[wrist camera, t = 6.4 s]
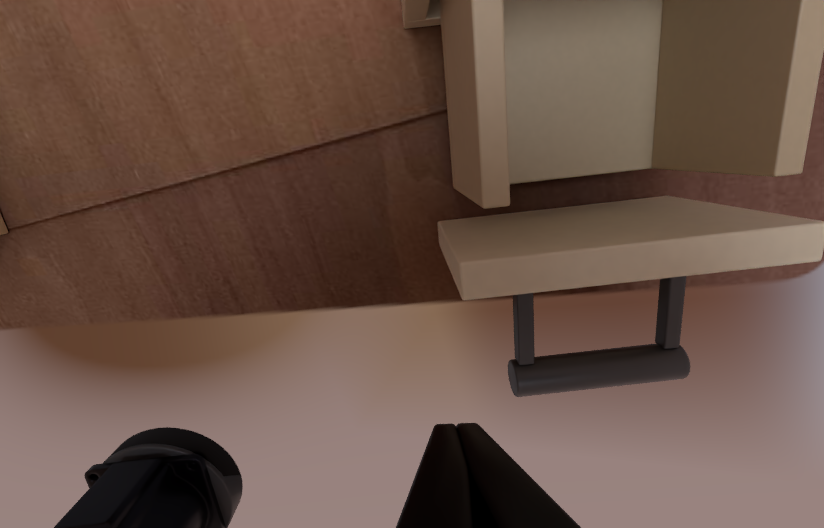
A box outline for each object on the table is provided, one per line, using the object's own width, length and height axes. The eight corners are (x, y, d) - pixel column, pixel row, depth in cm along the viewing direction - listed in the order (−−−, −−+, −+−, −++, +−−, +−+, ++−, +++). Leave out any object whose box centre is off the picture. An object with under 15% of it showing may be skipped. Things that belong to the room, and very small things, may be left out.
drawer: (657, 322, 19) (792, 412, 13) (448, 346, 19) (473, 447, 13) (692, -113, 14) (946, -341, 8) (409, -81, 14) (418, -281, 8)
